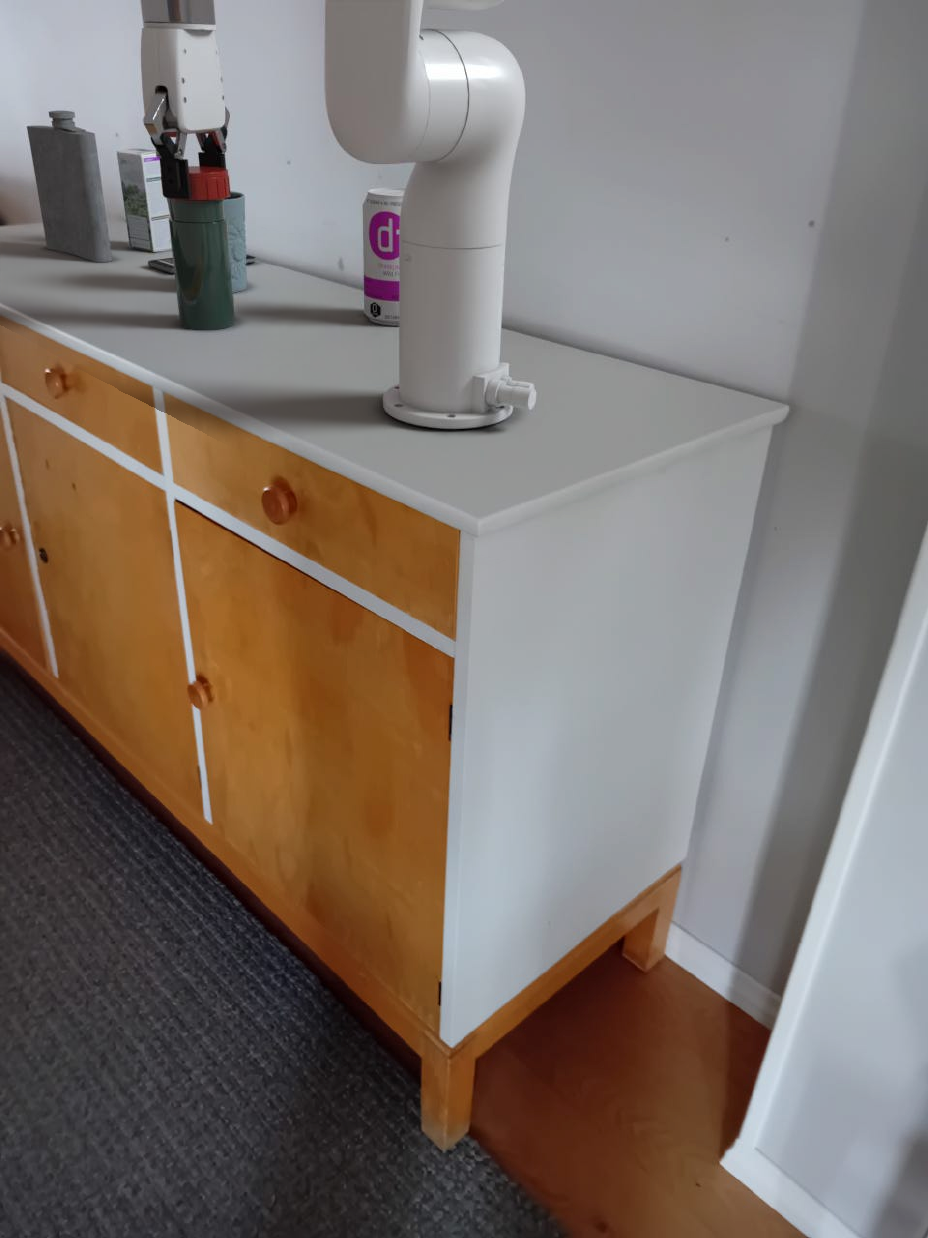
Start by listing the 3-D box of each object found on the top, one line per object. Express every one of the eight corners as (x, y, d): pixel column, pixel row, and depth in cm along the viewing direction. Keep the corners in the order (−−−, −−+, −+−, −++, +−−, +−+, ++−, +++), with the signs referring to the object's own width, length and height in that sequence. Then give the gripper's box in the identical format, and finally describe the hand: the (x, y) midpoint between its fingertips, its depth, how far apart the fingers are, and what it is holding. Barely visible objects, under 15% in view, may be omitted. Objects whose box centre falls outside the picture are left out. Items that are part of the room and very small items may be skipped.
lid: (152, 198, 111) (149, 171, 110) (177, 190, 118) (174, 164, 116) (217, 201, 110) (215, 174, 109) (239, 193, 117) (237, 167, 116)
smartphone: (258, 257, 153) (170, 268, 144) (258, 262, 153) (171, 273, 144) (231, 250, 158) (145, 260, 148) (231, 254, 158) (146, 265, 149)
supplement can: (420, 329, 122) (422, 198, 115) (356, 323, 124) (353, 193, 116) (435, 314, 129) (438, 189, 122) (374, 309, 131) (373, 185, 123)
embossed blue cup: (259, 292, 136) (253, 198, 130) (185, 297, 133) (175, 200, 127) (240, 277, 144) (233, 188, 138) (170, 281, 140) (159, 190, 134)
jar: (246, 321, 123) (237, 196, 116) (211, 332, 118) (199, 202, 110) (203, 313, 125) (192, 190, 118) (168, 324, 120) (153, 196, 113)
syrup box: (180, 247, 162) (170, 150, 155) (152, 252, 158) (140, 152, 151) (155, 243, 165) (144, 147, 158) (127, 248, 160) (114, 149, 153)
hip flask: (43, 247, 159) (19, 106, 149) (66, 244, 161) (44, 106, 151) (97, 262, 150) (76, 114, 140) (121, 259, 153) (102, 113, 142)
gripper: (189, 16, 113) (206, 184, 122) (99, 9, 99) (124, 200, 108) (249, 17, 112) (261, 187, 120) (165, 10, 97) (186, 205, 106)
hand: (196, 192), depth 114 cm, fingers closed on lid, 7 cm apart
